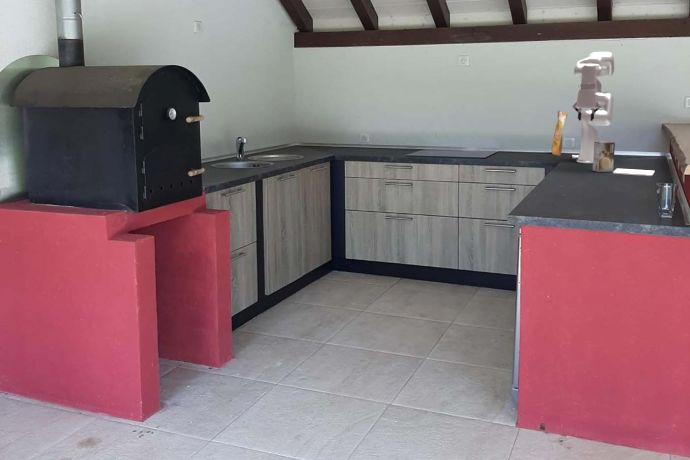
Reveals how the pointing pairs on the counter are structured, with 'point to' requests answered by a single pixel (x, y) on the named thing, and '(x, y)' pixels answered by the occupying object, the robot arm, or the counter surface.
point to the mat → (634, 172)
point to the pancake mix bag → (558, 133)
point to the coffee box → (603, 156)
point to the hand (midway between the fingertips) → (585, 120)
